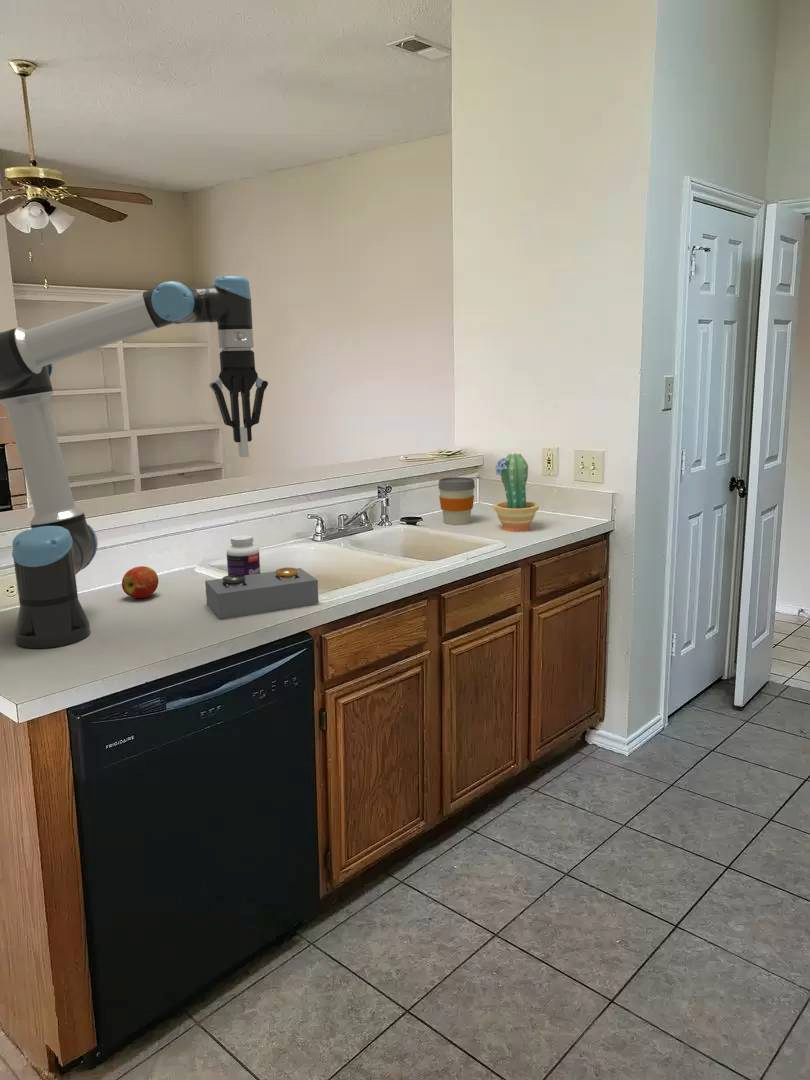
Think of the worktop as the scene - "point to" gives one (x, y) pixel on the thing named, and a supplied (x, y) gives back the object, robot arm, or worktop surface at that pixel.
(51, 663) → the worktop surface
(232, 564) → the pill bottle
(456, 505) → the reusable coffee cup
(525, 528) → the potted cactus
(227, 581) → the knob left
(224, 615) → the grey vial holder
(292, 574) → the orange capped vial
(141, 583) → the apple
